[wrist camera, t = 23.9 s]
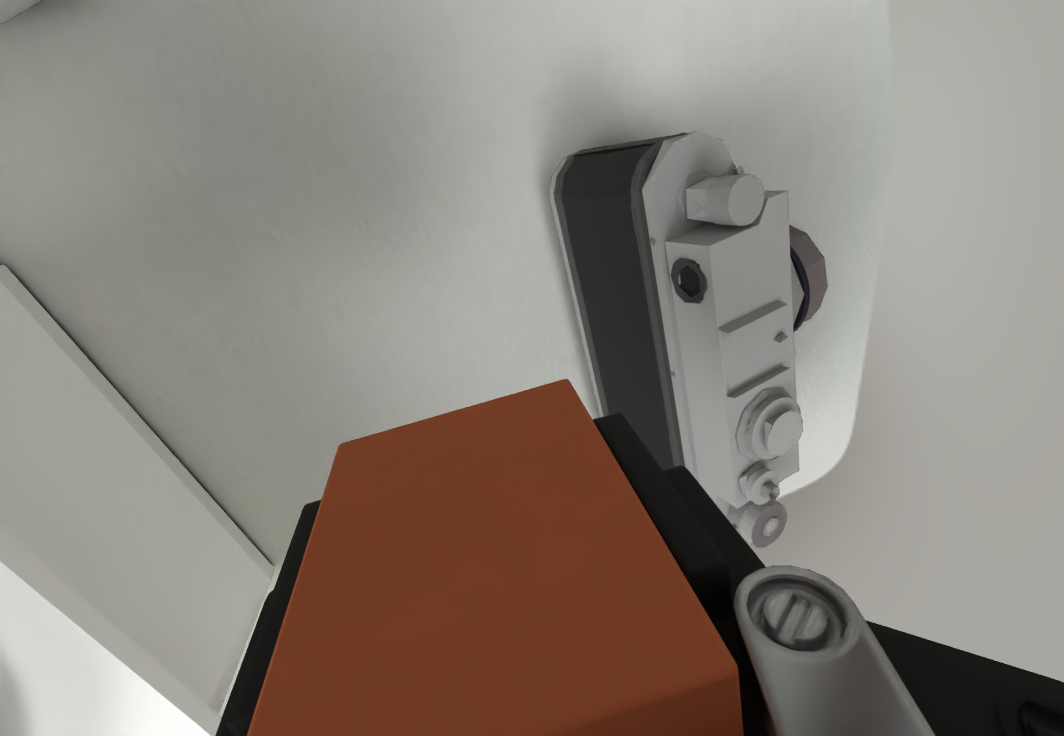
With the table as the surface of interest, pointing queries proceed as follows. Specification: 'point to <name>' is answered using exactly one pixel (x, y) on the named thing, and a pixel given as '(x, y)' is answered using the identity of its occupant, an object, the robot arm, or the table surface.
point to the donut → (13, 8)
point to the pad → (493, 592)
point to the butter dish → (106, 555)
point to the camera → (692, 311)
